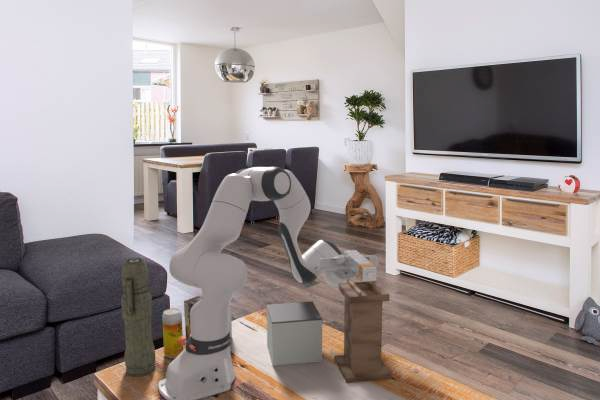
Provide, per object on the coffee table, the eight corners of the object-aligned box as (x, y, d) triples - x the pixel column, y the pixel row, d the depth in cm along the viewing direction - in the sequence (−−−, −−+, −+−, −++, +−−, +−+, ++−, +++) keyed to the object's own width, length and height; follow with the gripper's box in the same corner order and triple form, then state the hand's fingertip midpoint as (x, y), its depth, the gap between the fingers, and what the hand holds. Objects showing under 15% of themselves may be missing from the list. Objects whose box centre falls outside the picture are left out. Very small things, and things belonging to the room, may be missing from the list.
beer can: (178, 359, 152) (176, 315, 150) (161, 358, 153) (158, 314, 151) (186, 351, 158) (184, 308, 156) (169, 349, 159) (167, 307, 157)
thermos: (159, 359, 153) (153, 254, 147) (151, 378, 141) (144, 265, 136) (131, 360, 152) (124, 255, 147) (120, 379, 140) (113, 266, 135)
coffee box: (216, 346, 162) (215, 301, 159) (201, 352, 157) (200, 306, 154) (200, 338, 167) (198, 295, 165) (185, 344, 163) (183, 300, 160)
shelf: (267, 344, 163) (266, 304, 160) (312, 340, 165) (312, 301, 163) (272, 366, 148) (272, 322, 146) (322, 361, 151) (322, 318, 149)
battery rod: (343, 262, 155) (343, 250, 155) (355, 261, 156) (355, 249, 156) (363, 282, 135) (364, 268, 135) (377, 281, 136) (377, 267, 135)
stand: (334, 360, 152) (334, 278, 147) (375, 356, 154) (377, 276, 150) (346, 383, 138) (347, 294, 134) (391, 378, 141) (394, 291, 136)
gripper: (313, 260, 163) (320, 250, 150) (369, 257, 167) (381, 247, 154) (315, 278, 161) (323, 269, 148) (372, 275, 165) (384, 266, 152)
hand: (353, 258), depth 151 cm, fingers closed on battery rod, 4 cm apart
